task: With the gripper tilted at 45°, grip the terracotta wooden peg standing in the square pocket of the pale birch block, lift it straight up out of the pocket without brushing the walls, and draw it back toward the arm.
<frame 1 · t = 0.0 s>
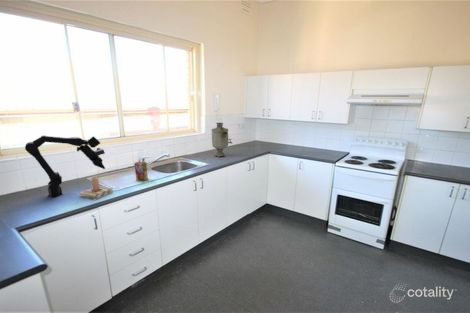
hand: (103, 167, 177), 15 cm above the worktop, tool tilted 35°, fingers open, 9 cm apart
pocket block: (97, 194, 164), on the worktop
terracotta peg: (96, 186, 163), in the pocket block
samovar: (222, 156, 279), on the worktop
candy box: (142, 179, 195), on the worktop
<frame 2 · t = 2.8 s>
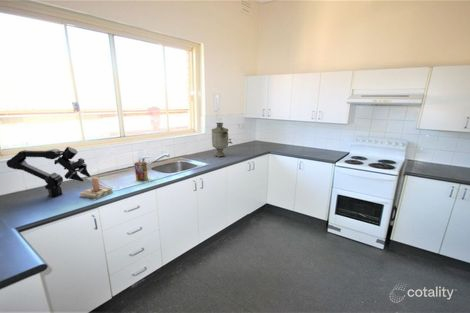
hand: (86, 178, 161), 12 cm above the worktop, tool tilted 45°, fingers open, 9 cm apart
nothing on the worktop moved.
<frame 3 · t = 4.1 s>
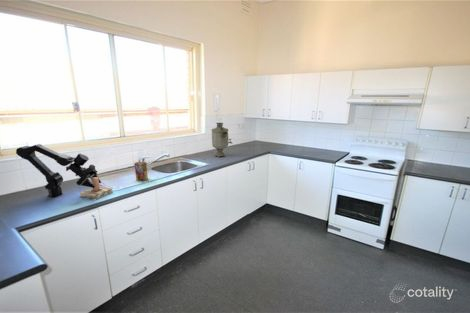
hand: (97, 185, 162), 7 cm above the worktop, tool tilted 45°, fingers open, 9 cm apart
nothing on the worktop moved.
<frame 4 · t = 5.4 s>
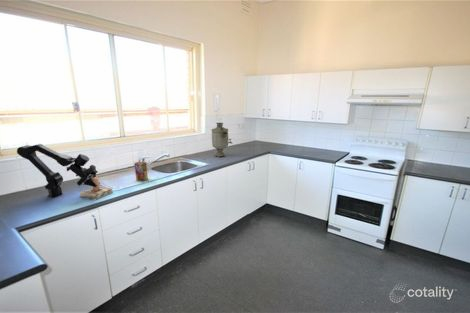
hand: (98, 185, 163), 7 cm above the worktop, tool tilted 45°, fingers closed on terracotta peg, 4 cm apart
terracotta peg: (96, 186, 163), in the pocket block, touching gripper
everything else where it was.
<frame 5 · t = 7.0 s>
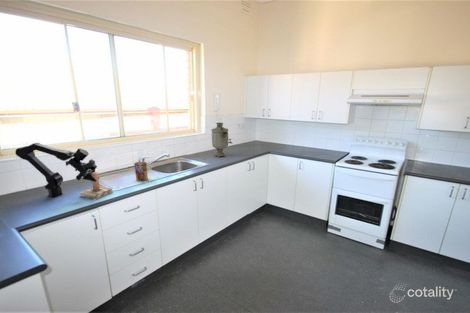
hand: (97, 180, 162), 10 cm above the worktop, tool tilted 45°, fingers closed on terracotta peg, 4 cm apart
terracotta peg: (95, 181, 162), point 10 cm above the worktop, touching gripper
everything else where it was.
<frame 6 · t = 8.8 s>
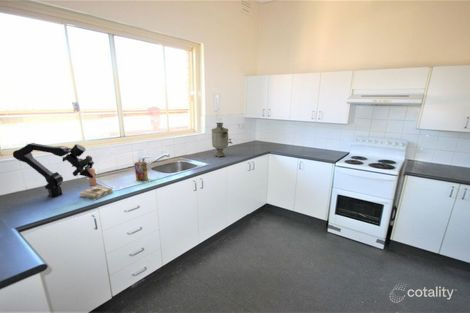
hand: (94, 176, 161), 13 cm above the worktop, tool tilted 45°, fingers closed on terracotta peg, 4 cm apart
terracotta peg: (92, 177, 161), point 13 cm above the worktop, touching gripper
everything else where it was.
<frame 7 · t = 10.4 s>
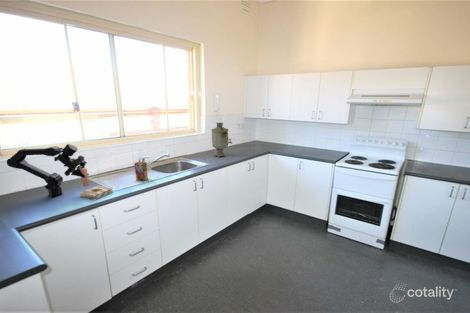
hand: (86, 176, 160), 13 cm above the worktop, tool tilted 45°, fingers closed on terracotta peg, 4 cm apart
terracotta peg: (84, 177, 160), point 13 cm above the worktop, touching gripper
everything else where it was.
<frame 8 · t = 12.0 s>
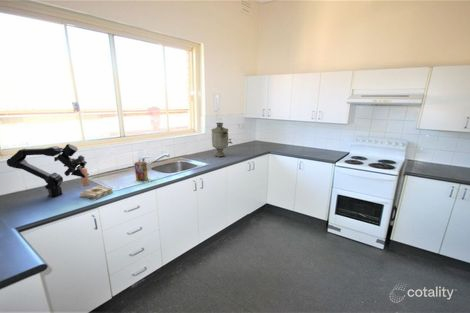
hand: (86, 176, 160), 13 cm above the worktop, tool tilted 45°, fingers closed on terracotta peg, 4 cm apart
terracotta peg: (84, 177, 160), point 13 cm above the worktop, touching gripper
everything else where it was.
at the end: terracotta peg point 12.9 cm above the worktop; terracotta peg touching gripper; terracotta peg tilted 0° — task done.
